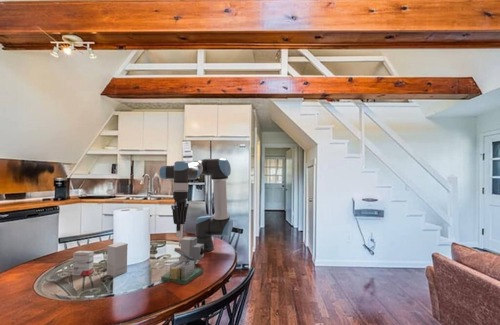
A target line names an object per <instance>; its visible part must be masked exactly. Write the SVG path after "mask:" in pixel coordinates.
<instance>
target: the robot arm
mask: <svg viewBox="0 0 500 325" xmlns="http://www.w3.org/2000/svg"><path fill="white" fill-rule="evenodd" d="M231 169H232V168H231V163H230V162H229V160H227V159H226V158H203V159H199V160H195V161H192V162H190V163H189V161H180V160H179V161H175V162H174V163H173V165H162V166H160V167H159V170H158V173H159V174H158V175H159V177H160V178H161V179H162V180H173V188H172V189H173V193H172V194H173V195H172V198H173V200H174V204H173V205H171V207H170V208H171V210H172V219H173V224H174V225H175V226H176V227H175V228H176V230H175V231H176V234H175V235H176V236H175V237H176V238H183V234H184V233H183V232H184V231H183V228H184V225H185V224H186V220H187V215H188V210H189V206H190V205H189V203H188V202H187V199H189V192H188V191H189V180H190V181H191V180H193V181H194V180H197V179H198V178H200V176H210V179H211V180H212V181H213V194H214V195H213V196H214V197H213V199H214V200H213V201H214V215H204V216H203V215H202V216H199V217H196V219H195V237H197V244H204V250H205V252H211V251H213V250H214V249H215V245H214V240H213V236H218V237H220V236H221V237H229V236H230V235H231V233H232V230H233V225H234V222H233V219H231V218H230V214H228V198H227V180H228V178H229V176H230V175H231V173H232V170H231Z"/></svg>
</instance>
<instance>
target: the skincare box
mask: <svg viewBox="0 0 500 325" xmlns="http://www.w3.org/2000/svg"><path fill="white" fill-rule="evenodd" d="M128 245H129V244H128V243H126V242H121V241H119V242H115V243H112V244H109V245H107V255H106V275H107V276H111V277H114V278H115V277H118V276H120V275H122V274H125V273H127V272H128Z"/></svg>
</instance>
